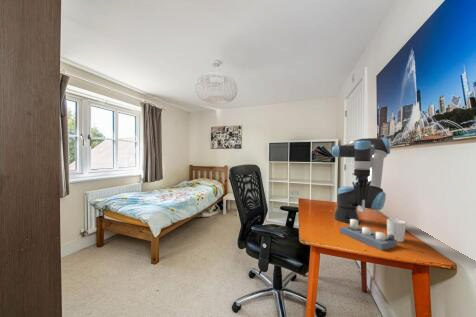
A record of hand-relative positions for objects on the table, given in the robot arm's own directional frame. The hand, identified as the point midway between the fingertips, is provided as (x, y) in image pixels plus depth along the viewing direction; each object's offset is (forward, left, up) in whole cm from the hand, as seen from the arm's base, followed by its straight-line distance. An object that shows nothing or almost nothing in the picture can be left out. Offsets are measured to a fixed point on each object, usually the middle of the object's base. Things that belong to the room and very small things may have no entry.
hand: (361, 211), depth 105 cm
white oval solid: (+1, +4, -13) cm, 14 cm away
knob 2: (+1, +11, -13) cm, 17 cm away
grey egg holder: (+1, +4, -14) cm, 14 cm away
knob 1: (+1, -3, -11) cm, 11 cm away
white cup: (-14, +9, -14) cm, 22 cm away
